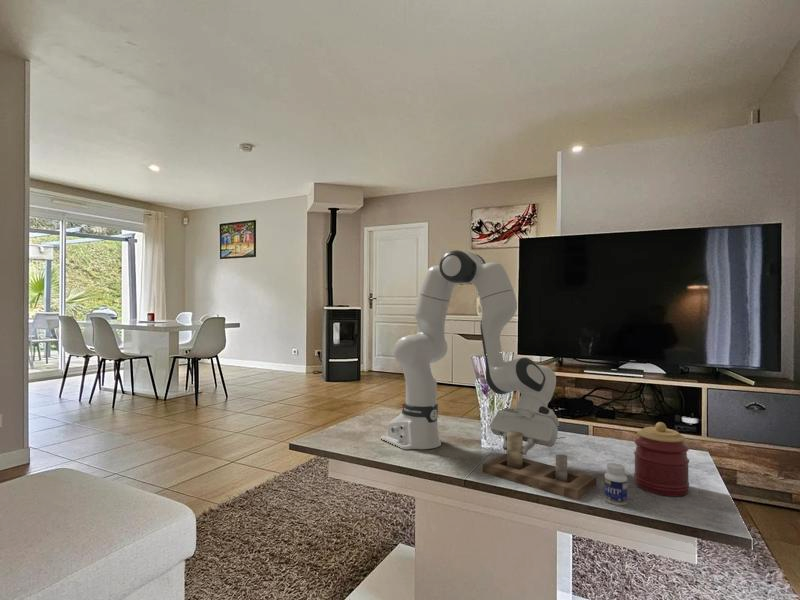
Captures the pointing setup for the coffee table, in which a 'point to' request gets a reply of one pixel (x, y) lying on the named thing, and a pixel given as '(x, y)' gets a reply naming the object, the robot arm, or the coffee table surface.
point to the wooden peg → (514, 450)
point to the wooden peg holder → (544, 476)
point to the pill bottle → (615, 484)
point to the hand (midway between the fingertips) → (513, 451)
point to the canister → (661, 461)
